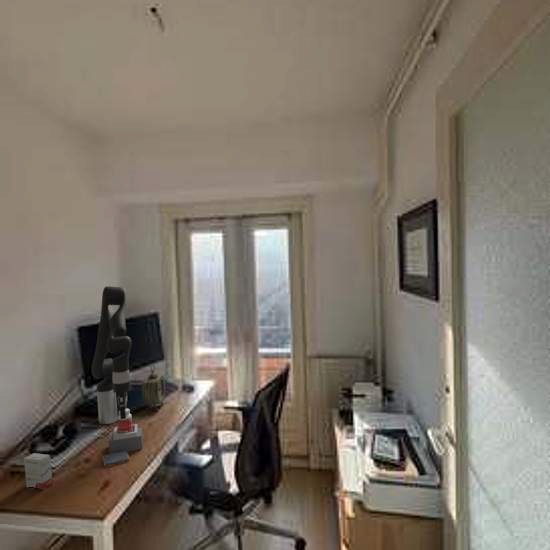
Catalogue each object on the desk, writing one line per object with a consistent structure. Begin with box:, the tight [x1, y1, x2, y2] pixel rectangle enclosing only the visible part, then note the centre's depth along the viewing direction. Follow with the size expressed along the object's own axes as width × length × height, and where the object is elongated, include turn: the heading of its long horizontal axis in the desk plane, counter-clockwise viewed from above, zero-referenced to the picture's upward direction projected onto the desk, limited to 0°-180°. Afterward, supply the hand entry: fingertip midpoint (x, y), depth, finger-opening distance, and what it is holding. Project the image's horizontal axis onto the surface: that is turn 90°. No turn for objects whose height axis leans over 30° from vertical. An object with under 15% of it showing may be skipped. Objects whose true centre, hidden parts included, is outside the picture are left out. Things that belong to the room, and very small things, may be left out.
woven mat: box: [101, 450, 131, 468], centre depth 187 cm, size 10×11×2 cm
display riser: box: [108, 423, 144, 455], centre depth 199 cm, size 10×14×8 cm
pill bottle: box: [117, 408, 133, 434], centre depth 199 cm, size 6×6×11 cm
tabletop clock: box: [141, 364, 166, 412], centre depth 247 cm, size 14×9×25 cm, turn 179°
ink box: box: [23, 452, 54, 490], centre depth 169 cm, size 9×5×12 cm, turn 71°
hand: (123, 415), depth 199 cm, fingers open, 8 cm apart
